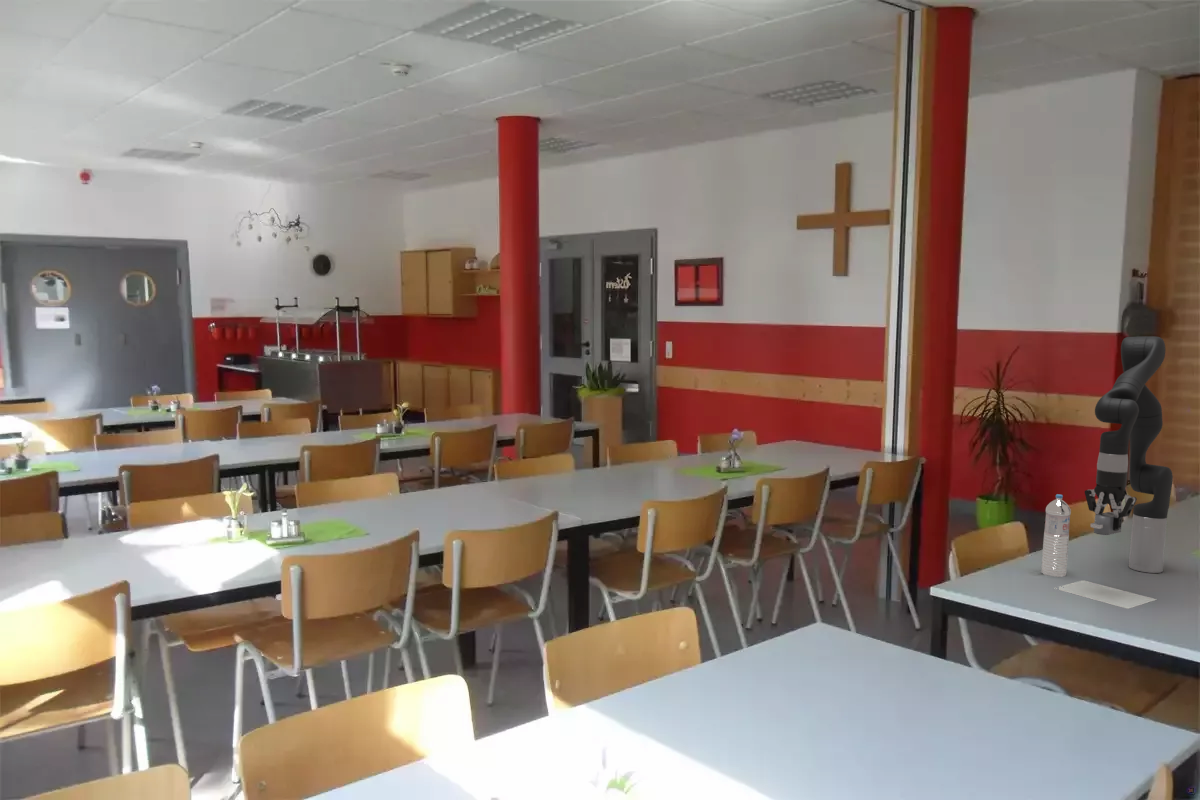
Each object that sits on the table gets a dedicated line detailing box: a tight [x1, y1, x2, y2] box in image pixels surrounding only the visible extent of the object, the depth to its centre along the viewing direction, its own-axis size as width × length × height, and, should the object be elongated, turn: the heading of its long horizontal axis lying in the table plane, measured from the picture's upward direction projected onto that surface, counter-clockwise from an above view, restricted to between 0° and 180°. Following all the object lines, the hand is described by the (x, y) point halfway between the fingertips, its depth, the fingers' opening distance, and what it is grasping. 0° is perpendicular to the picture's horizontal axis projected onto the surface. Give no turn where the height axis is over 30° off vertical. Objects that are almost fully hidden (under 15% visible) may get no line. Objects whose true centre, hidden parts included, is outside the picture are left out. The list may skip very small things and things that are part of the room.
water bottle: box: [1041, 493, 1072, 578], centre depth 279 cm, size 7×7×25 cm
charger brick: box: [1090, 511, 1122, 536], centre depth 260 cm, size 12×4×5 cm, turn 124°
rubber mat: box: [1053, 579, 1157, 610], centre depth 261 cm, size 16×21×1 cm
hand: (1107, 528), depth 261 cm, fingers closed on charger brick, 4 cm apart
